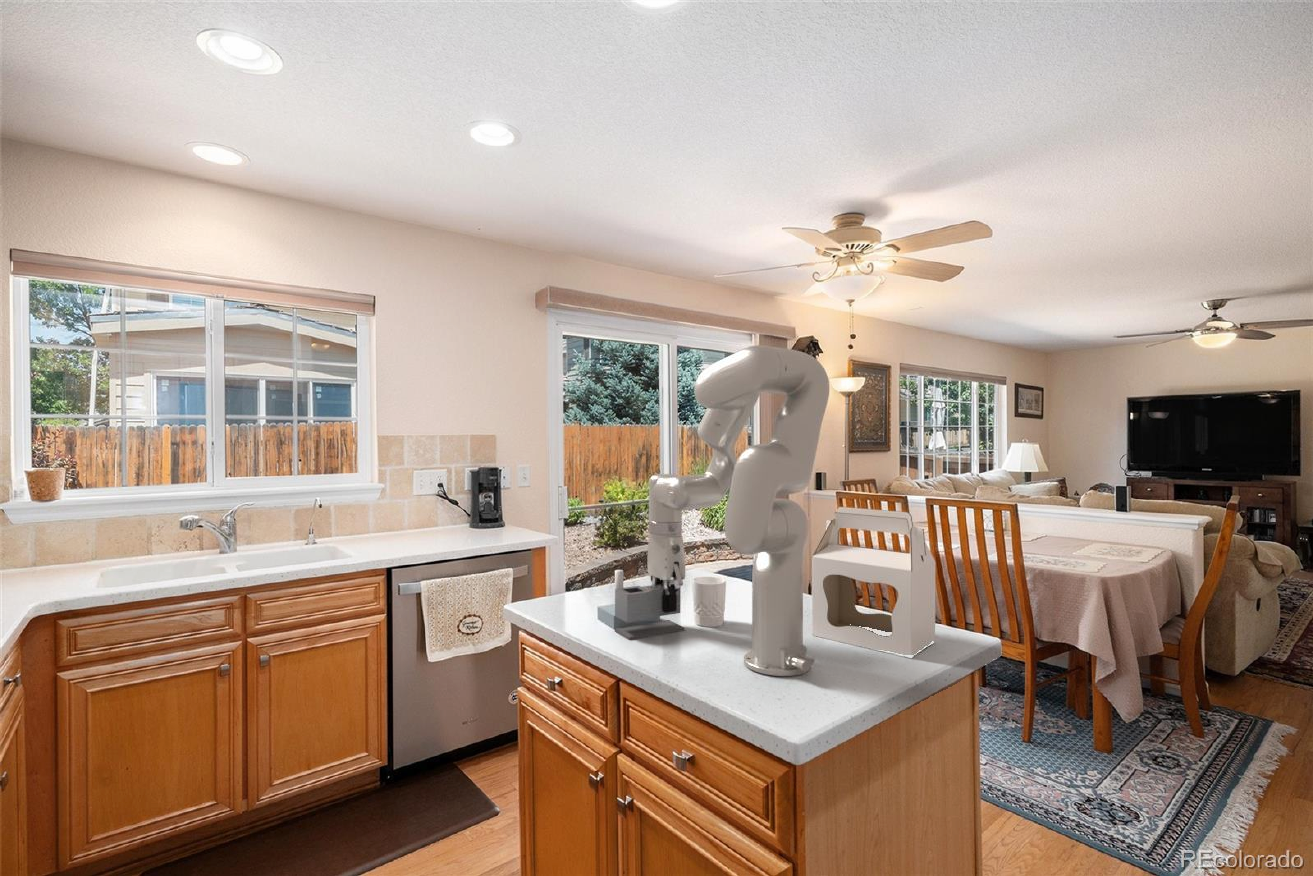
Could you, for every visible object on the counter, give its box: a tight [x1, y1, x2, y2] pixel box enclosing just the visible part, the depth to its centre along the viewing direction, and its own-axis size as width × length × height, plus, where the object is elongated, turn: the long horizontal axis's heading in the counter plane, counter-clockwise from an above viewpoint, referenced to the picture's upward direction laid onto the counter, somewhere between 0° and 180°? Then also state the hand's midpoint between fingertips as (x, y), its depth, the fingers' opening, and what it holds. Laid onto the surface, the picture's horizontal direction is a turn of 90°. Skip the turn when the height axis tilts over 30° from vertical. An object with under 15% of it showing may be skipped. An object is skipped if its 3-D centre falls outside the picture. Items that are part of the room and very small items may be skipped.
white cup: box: [691, 576, 727, 628], centre depth 148 cm, size 8×8×10 cm
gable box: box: [811, 506, 936, 655], centre depth 136 cm, size 22×13×28 cm, turn 47°
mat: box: [614, 619, 686, 641], centre depth 142 cm, size 7×14×1 cm, turn 119°
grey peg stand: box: [597, 569, 661, 630], centre depth 150 cm, size 12×9×12 cm
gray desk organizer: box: [614, 583, 682, 623], centre depth 142 cm, size 14×6×6 cm, turn 119°
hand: (664, 608), depth 144 cm, fingers closed on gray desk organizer, 4 cm apart
